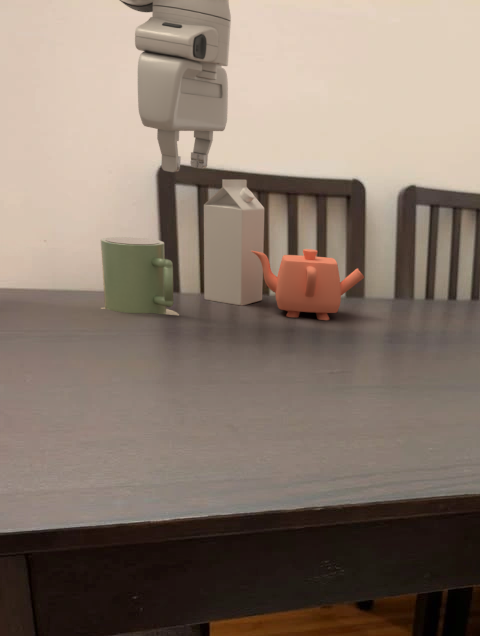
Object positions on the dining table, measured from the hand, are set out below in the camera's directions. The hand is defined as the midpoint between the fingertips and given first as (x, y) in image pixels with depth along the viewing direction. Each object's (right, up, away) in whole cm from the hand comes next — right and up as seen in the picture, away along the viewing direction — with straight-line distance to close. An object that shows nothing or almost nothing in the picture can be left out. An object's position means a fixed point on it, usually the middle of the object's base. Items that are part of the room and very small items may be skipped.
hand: (185, 169), depth 92 cm
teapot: (+13, -13, +26) cm, 32 cm away
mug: (-10, -16, +13) cm, 23 cm away
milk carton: (+1, -9, +31) cm, 33 cm away
